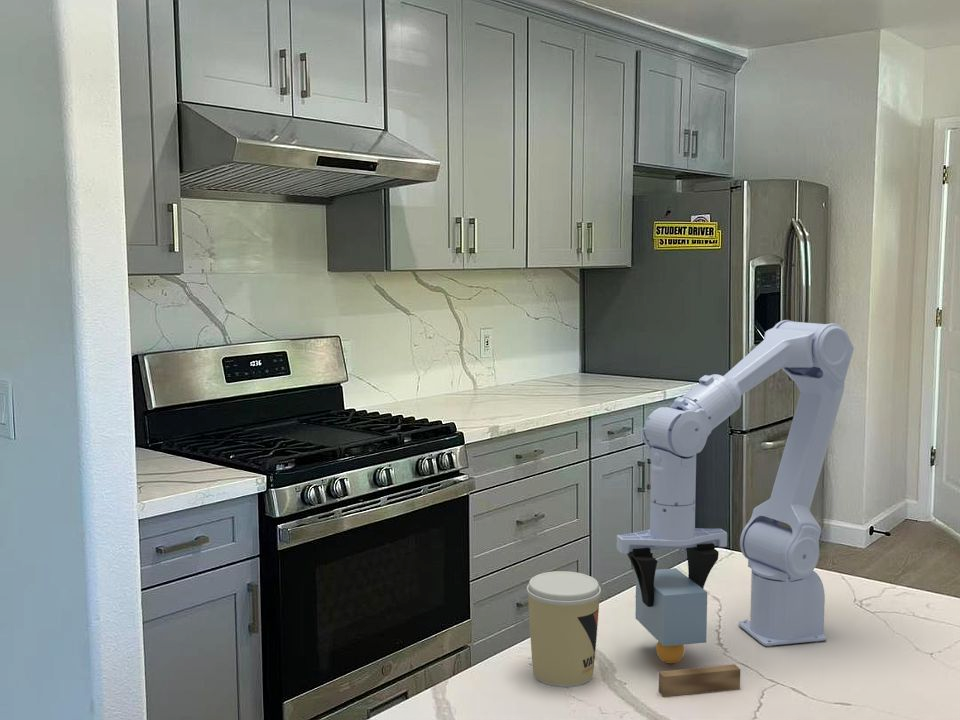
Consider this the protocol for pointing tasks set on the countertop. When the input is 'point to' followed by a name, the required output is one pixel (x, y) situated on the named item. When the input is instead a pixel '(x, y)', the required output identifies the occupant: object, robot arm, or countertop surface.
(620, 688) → the countertop surface
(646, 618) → the blue-grey rectangular block
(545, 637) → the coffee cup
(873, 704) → the countertop surface
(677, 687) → the brown rectangular block
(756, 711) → the countertop surface
